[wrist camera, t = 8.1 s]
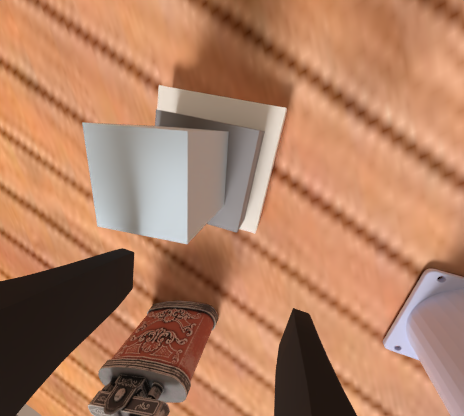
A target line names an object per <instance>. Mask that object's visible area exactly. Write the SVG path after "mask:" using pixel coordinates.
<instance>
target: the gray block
mask: <svg viewBox="0 0 464 416" xmlns="http://www.w3.org/2000/svg"><path fill="white" fill-rule="evenodd" d="M82 124H83V131H84V138H85V145H86V151H87V158H88V165H89V172H90V179H91V185H92V192H93V199H94V206H95V213H96V219H97V226H98V227H103V228H108V229H113V230H118V231H123V232H128V233H133V234H138V235H143V236H148V237H153V238H158V239H163V240H169V241H174V242H179V243H184V244H188V243H189V242H190V241H191V240H192V239H193V238H194V237H195V236H196V235H197V233H198V232H199V231H200V230H201V229H202V228H203V227H204V226H205V225H206V224H207V223H208V222H209V221H210V220H211V219H212V217H213V216H214V215H215V214H216V213H217V212H218V211H219V210H220V209H221V208H222V207H223V206H224V200H225V184H226V168H227V152H228V135H229V132H228V131H215V130H203V129H190V128H177V127H165V126H147V125H125V124H103V123H82Z"/></svg>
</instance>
